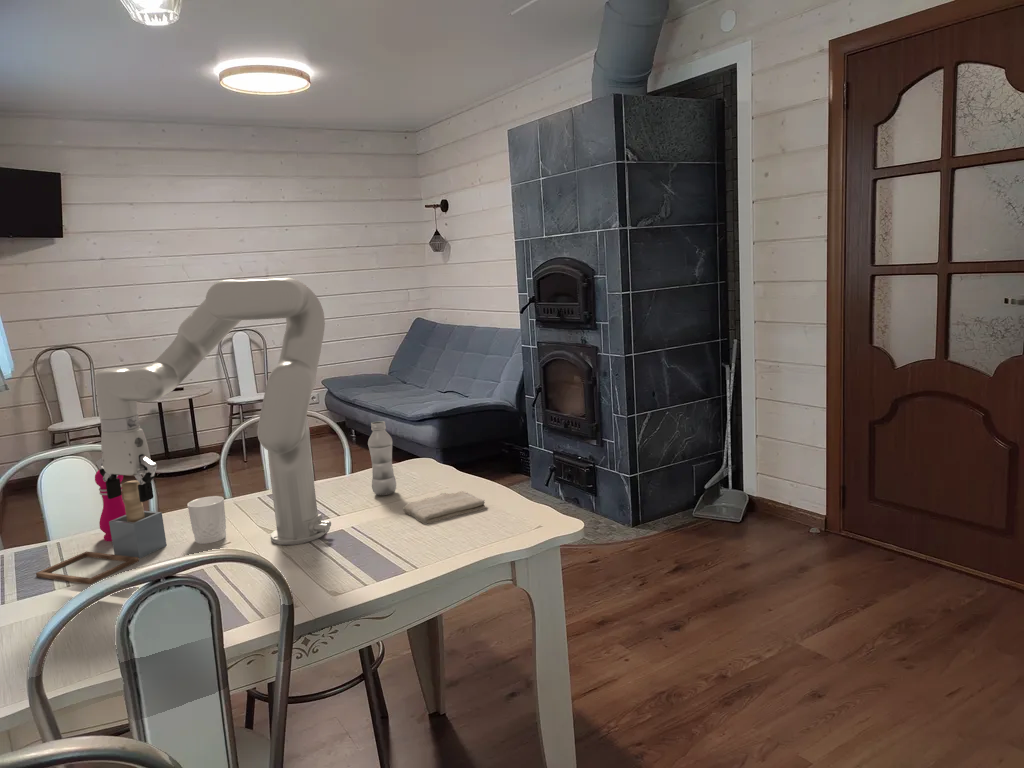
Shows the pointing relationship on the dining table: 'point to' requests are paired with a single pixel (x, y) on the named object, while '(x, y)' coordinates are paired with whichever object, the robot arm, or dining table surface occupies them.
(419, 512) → the washcloth
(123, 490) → the dowel
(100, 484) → the pepper mill
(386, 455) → the plastic bottle
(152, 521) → the grey hollow box
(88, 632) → the dining table surface
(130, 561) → the tray
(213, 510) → the white cup
